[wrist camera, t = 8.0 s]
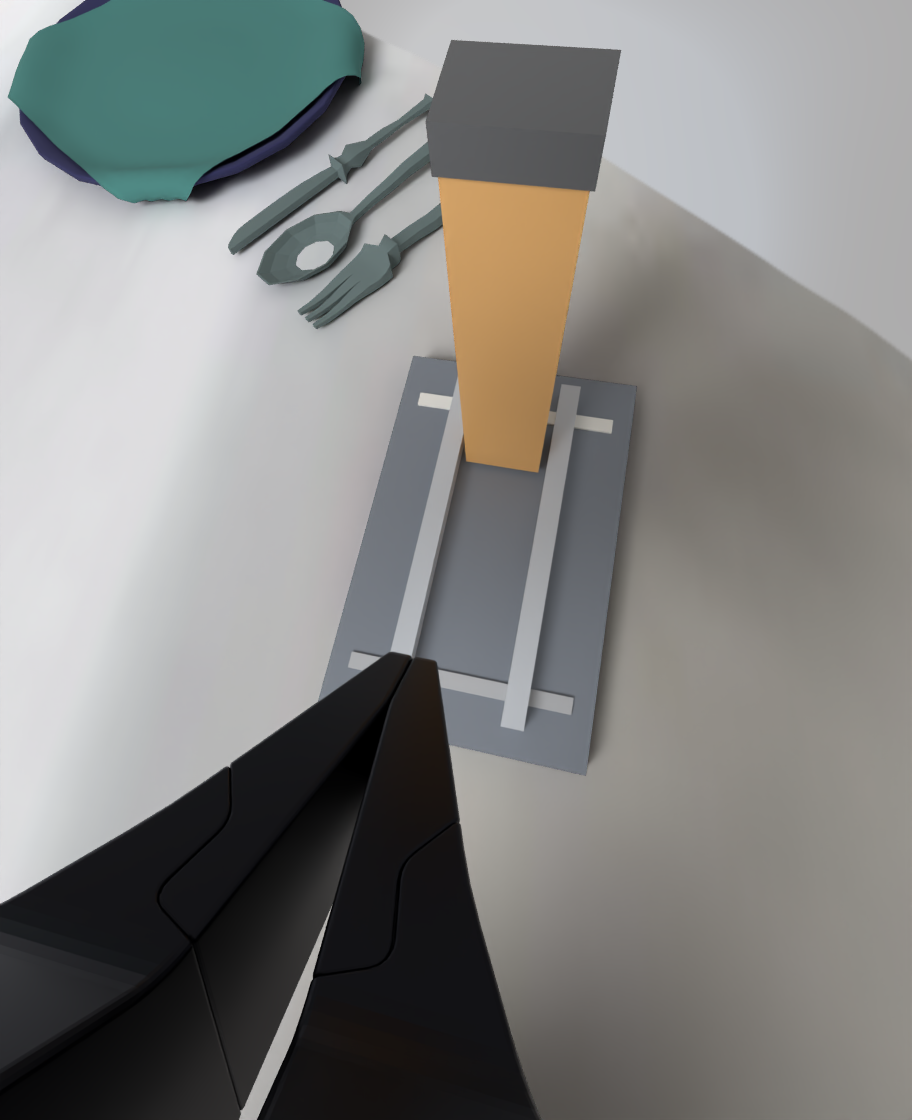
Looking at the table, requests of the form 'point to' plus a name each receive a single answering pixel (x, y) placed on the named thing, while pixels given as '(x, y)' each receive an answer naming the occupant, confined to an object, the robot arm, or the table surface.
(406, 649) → the board
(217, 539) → the table surface
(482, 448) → the tan wooden bar
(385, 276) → the cutlery set
